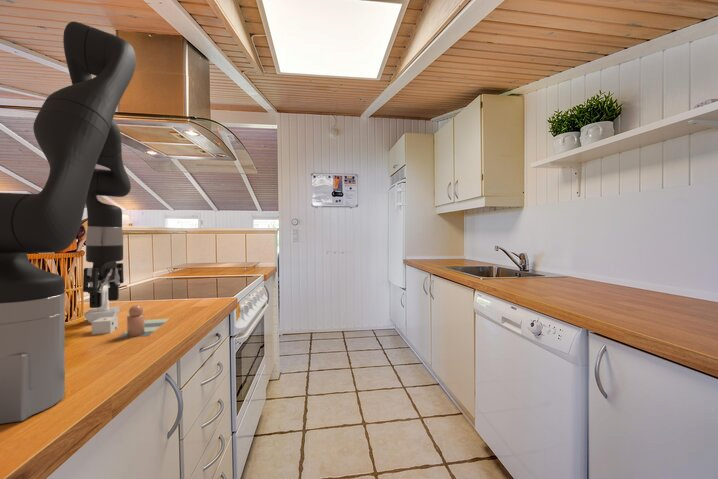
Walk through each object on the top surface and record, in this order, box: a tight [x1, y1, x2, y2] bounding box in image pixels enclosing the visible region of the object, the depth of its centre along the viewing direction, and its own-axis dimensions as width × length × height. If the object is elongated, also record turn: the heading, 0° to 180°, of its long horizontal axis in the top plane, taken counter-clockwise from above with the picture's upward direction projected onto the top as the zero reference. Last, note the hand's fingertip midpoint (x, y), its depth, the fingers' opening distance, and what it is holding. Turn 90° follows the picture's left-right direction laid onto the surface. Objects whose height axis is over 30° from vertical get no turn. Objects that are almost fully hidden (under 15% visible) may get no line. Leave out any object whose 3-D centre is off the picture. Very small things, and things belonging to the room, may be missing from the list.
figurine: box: [83, 284, 122, 325], centre depth 87 cm, size 7×9×15 cm
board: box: [115, 318, 170, 340], centre depth 81 cm, size 16×7×1 cm, turn 17°
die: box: [91, 316, 119, 335], centre depth 77 cm, size 4×4×4 cm
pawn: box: [126, 304, 146, 338], centre depth 75 cm, size 4×4×8 cm
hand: (105, 303), depth 77 cm, fingers open, 8 cm apart
